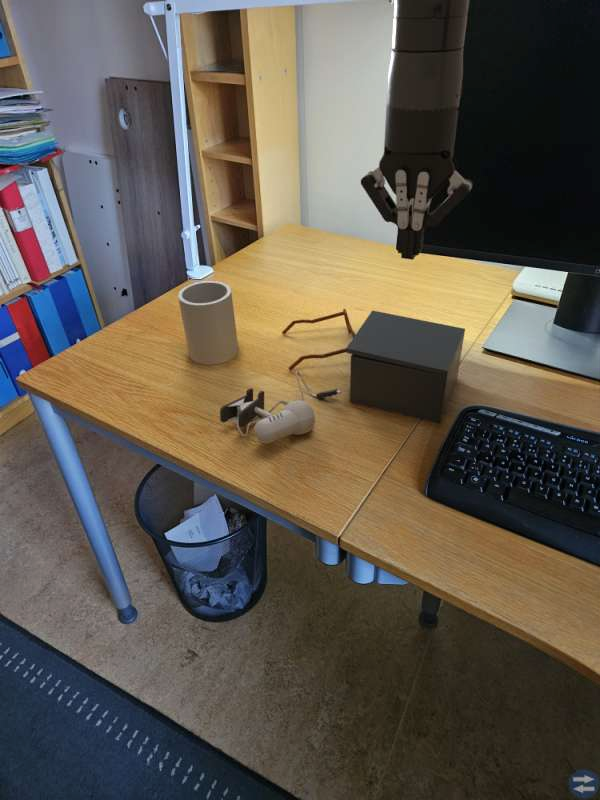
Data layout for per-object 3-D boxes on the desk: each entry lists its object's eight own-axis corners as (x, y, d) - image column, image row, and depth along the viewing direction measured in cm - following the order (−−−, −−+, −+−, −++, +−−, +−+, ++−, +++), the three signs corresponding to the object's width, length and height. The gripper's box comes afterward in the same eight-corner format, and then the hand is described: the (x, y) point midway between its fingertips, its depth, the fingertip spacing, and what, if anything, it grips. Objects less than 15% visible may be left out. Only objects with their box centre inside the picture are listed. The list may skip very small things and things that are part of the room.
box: (349, 402, 90) (350, 356, 85) (374, 361, 99) (376, 317, 94) (440, 423, 85) (447, 376, 80) (457, 378, 94) (464, 333, 89)
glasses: (362, 364, 98) (363, 339, 95) (288, 371, 97) (287, 347, 94) (348, 327, 109) (348, 304, 106) (281, 333, 108) (279, 310, 105)
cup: (246, 354, 102) (239, 295, 95) (200, 370, 99) (190, 310, 91) (225, 333, 109) (217, 276, 101) (181, 347, 105) (170, 289, 98)
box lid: (345, 352, 85) (345, 348, 84) (371, 314, 94) (372, 310, 93) (447, 375, 80) (448, 371, 79) (464, 333, 89) (465, 328, 88)
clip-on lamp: (297, 396, 96) (215, 428, 84) (299, 362, 94) (214, 389, 82) (350, 419, 89) (268, 457, 77) (354, 383, 87) (269, 416, 74)
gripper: (350, 103, 58) (348, 261, 68) (481, 108, 53) (457, 277, 64) (373, 91, 63) (367, 239, 74) (493, 94, 59) (469, 252, 69)
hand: (409, 256), depth 69 cm, fingers closed
